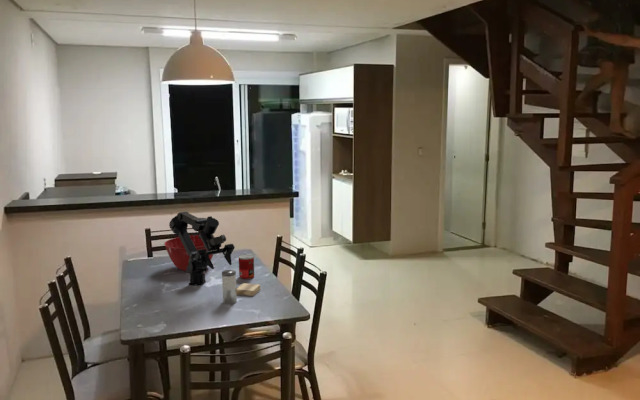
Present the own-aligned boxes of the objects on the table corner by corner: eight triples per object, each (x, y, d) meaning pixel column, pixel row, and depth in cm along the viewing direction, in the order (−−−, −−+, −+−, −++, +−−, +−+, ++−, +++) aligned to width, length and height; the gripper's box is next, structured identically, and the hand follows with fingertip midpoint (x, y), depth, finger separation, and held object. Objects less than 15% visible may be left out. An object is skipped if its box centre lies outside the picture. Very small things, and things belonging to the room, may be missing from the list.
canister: (220, 303, 233) (219, 273, 231) (226, 298, 239) (225, 269, 237) (233, 304, 232) (232, 274, 230) (239, 299, 238) (238, 270, 235)
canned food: (251, 279, 267) (251, 258, 265) (237, 278, 269) (236, 258, 267) (256, 274, 275) (255, 254, 273) (242, 274, 276) (241, 254, 274)
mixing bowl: (164, 277, 272) (162, 248, 269) (167, 262, 299) (165, 236, 296) (219, 273, 278) (218, 245, 276) (217, 259, 305) (215, 233, 303)
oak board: (235, 294, 245) (235, 289, 245) (243, 288, 254) (243, 283, 253) (253, 295, 243) (253, 290, 242) (260, 289, 251) (260, 284, 251)
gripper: (195, 232, 236) (209, 260, 229) (231, 226, 248) (245, 252, 241) (189, 247, 243) (202, 274, 236) (224, 241, 255) (237, 266, 248)
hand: (222, 266), depth 240 cm, fingers open, 9 cm apart
